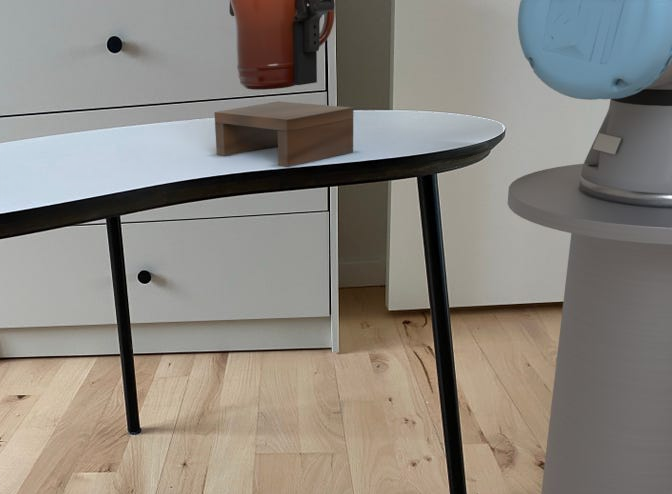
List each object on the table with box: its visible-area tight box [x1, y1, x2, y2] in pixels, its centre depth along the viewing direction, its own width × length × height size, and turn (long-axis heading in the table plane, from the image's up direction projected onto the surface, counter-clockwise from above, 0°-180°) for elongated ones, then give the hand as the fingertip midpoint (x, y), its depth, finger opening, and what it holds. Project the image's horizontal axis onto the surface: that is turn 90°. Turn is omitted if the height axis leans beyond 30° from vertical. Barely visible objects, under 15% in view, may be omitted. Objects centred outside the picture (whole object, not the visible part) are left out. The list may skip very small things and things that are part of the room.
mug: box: [229, 0, 336, 91], centre depth 93 cm, size 12×9×10 cm
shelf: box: [214, 101, 354, 168], centre depth 97 cm, size 13×10×5 cm
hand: (281, 82), depth 95 cm, fingers closed on mug, 7 cm apart
